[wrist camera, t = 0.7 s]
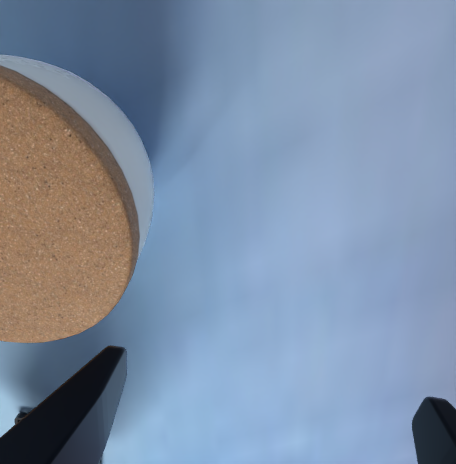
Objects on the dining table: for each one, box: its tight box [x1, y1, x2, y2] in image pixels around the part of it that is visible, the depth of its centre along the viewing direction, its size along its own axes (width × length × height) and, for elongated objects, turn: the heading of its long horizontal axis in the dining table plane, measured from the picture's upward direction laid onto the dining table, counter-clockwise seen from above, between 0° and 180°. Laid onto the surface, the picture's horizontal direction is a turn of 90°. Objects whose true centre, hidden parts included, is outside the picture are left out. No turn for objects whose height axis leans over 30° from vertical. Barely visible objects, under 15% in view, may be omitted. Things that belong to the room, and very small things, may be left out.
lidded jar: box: [0, 54, 154, 343], centre depth 16 cm, size 11×11×9 cm
